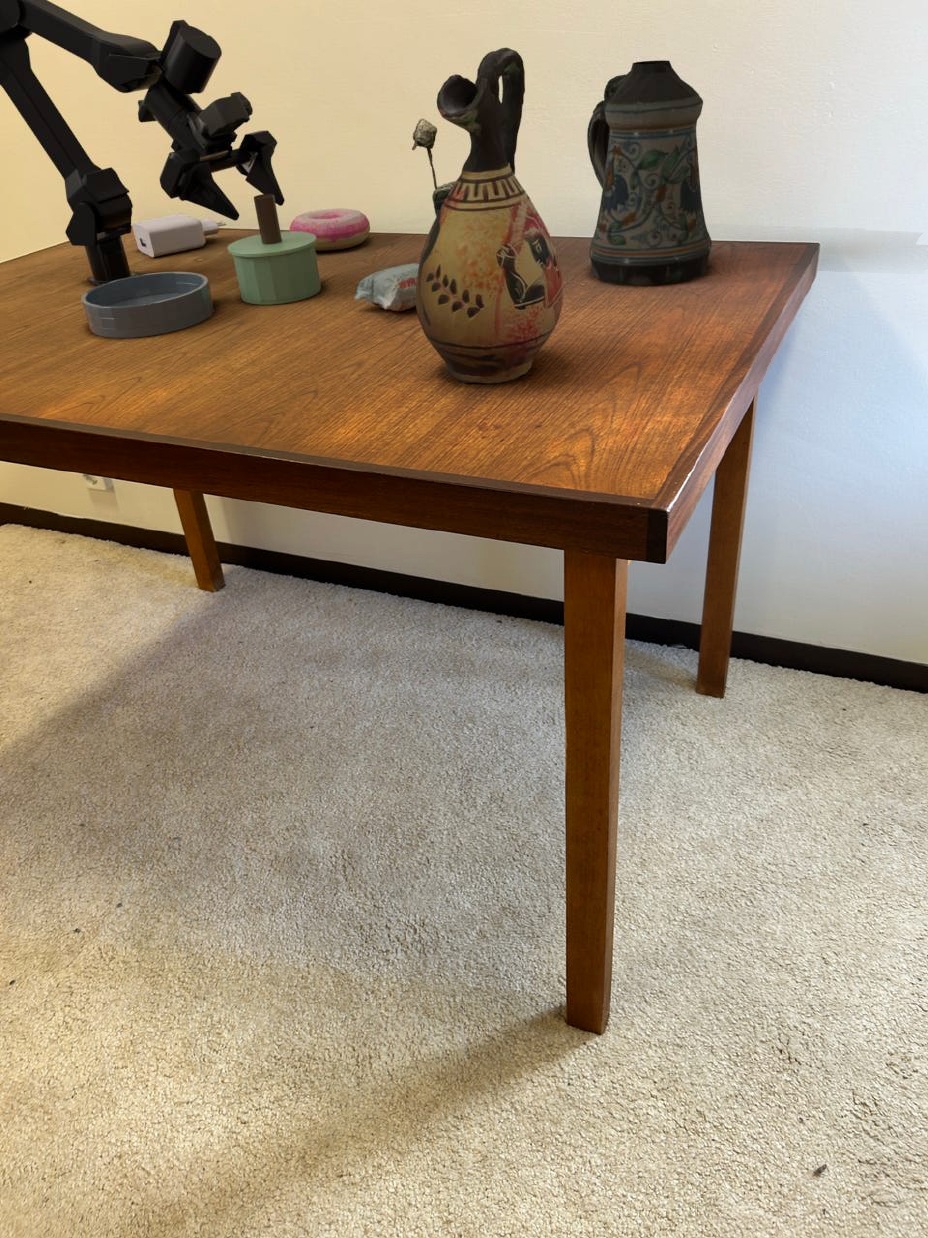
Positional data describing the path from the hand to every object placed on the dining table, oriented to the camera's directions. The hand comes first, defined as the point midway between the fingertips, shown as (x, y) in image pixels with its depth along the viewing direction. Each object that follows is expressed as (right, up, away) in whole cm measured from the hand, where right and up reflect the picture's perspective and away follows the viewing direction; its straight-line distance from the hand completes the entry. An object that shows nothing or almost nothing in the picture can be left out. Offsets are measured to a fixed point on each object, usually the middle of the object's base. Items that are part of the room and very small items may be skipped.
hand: (260, 210), depth 130 cm
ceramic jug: (+32, -29, -26) cm, 50 cm away
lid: (+1, -4, +2) cm, 5 cm away
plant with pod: (+27, -4, +10) cm, 29 cm away
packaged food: (+21, -15, -5) cm, 26 cm away
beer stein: (+53, -8, +2) cm, 53 cm away
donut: (+6, +6, +28) cm, 29 cm away
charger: (-21, +9, +36) cm, 43 cm away
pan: (-15, -15, 0) cm, 21 cm away
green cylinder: (+2, -9, +6) cm, 11 cm away
